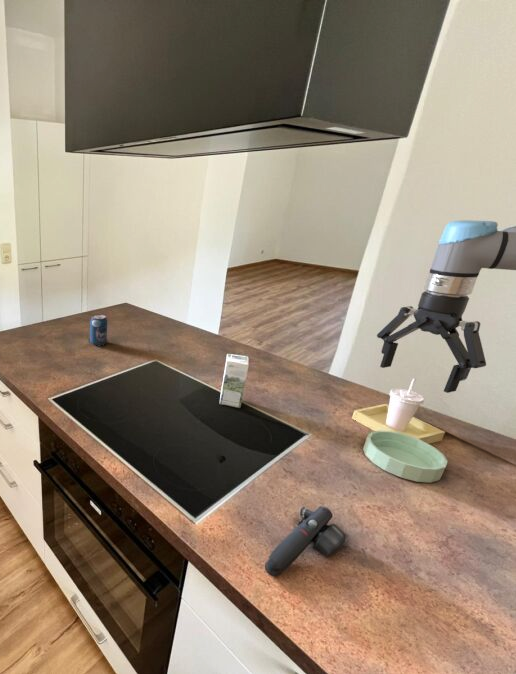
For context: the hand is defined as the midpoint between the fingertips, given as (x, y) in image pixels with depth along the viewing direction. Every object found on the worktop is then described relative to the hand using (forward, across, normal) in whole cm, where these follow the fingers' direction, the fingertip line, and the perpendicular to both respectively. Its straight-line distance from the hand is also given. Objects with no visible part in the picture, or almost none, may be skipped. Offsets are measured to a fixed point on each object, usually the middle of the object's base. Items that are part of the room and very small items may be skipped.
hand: (415, 378), depth 88 cm
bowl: (+15, +9, -13) cm, 22 cm away
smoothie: (+14, 0, 0) cm, 15 cm away
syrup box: (+15, -24, -32) cm, 42 cm away
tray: (+15, 0, 0) cm, 15 cm away
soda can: (+14, -79, -53) cm, 96 cm away
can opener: (+15, +20, -53) cm, 59 cm away
